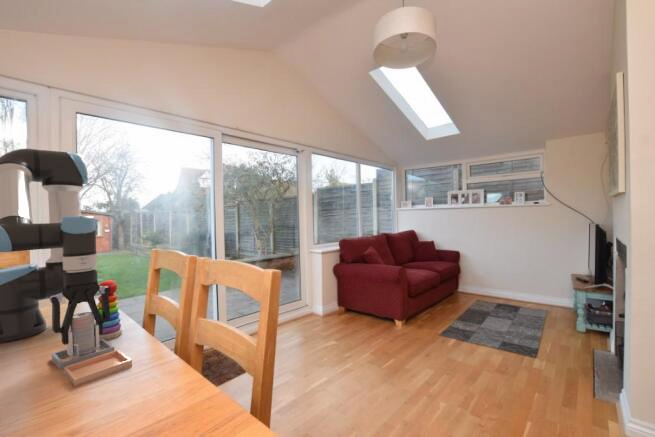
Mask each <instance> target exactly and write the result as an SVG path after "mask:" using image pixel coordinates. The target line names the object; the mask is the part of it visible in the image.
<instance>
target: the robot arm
mask: <svg viewBox="0 0 655 437" xmlns="http://www.w3.org/2000/svg"><path fill="white" fill-rule="evenodd" d="M32 182H33V183H36V182H37V183H41V187H42V188H43V189H44V190H45V191H46V192H47V196H48V219H49V220H48V221H49V222H48V223H40V222H39V223H33V214H32V213H33V212H32V202H31V200H32V198H31V188H30V184H31V183H32ZM88 182H89V179H88V169H87V165H86V162H85V159H84V158H83V156H82V155H81V154H78V153H75V152H68V151H56V150H45V149H44V150H43V149H34V148H20V149H15V150H12V151H9V152H6V153H5V154H3V155H1V156H0V253H12V252H24V251H25V252H26V251H33V250H34V251H36V250H49V249H50V257H49V258H48V259H47V260H45V265H44V266H42V267H39V265H38V264H37V263H29V264H21V265H15V266H11V267H10V266H9V267H6V268H2V269H0V344H1V343H7V342H13V341H17V340H22V339H25V338H29V337H32V336H35V335H38V334H41V333H42V332H44V331H45V330H46V329H47V320H46V319H45V317H44V315H43V313H42V311H41V309H40V306H39V305H40V303H39V301H42V300H48V299H49V300H50V303H51V330H52V331H53V333H55V334H59V333H60V334H61V343H62V345H64V346H65V345H66V349H67V354H68V356H69V357H72V355H73V338H72V331H71V330H70V325H71V321H72V318H73V315H75V311H76V308H77V306H78V305H79V304H81V303H87V304H88V307H89V309H90V312H93V314H94V323H95V321H96V323H95V349H98V348H100V346H99V335H101V334H102V333H103V323H104V322H105V321H106V320H109V319H110V308H109V292H110V288H109V287H107V286H105V287H101V286H99V285H100V283H99V282H98V269H96V268H97V266H98V259H97V257H98V256H97V239H96V238H97V233H96V232H97V231H96V230H97V226H96V219H95V217H94V215H93V216H92V215H80V206H79V205H80V204H79V192H80V191H81V190H83V189H84V185H86V184H88ZM98 290H99V291H100V293H101V294H100V293H99V294H100V296H101V301H102V314H103V317H101V315H100V312H99V310H98V307H97V303H96V299H95V296H96V294H98V292H99V291H98ZM62 298H65V299H66V300H68V302H67V308H66V311H65V315H64V318H63V320H62V321H63V322H62V323H61V304H60V303H61V302H62V300H63V299H62Z"/></svg>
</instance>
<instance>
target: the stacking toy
mask: <svg viewBox="0 0 655 437" xmlns="http://www.w3.org/2000/svg"><path fill="white" fill-rule="evenodd" d="M99 286H101V287H105V286H107V287H109V288H110V292H109V308H110V319H109V320H106V321H105V322H104V323H103V333H102V334H101V335H99V340H100V339H104V340H105V341H107V340H111V339H114V338H115V339H116V338H117V337H119V336H121V335H122V333H123V330H122V328H121V327H122V324H121V323H120V322H121V318H120V312H119V309H120V308H119V305H118V301H117V298H118V296H117V294H116V291H117V289H118V286H117V283H116V282H115V281H114V280H110V279H107V280H104V281H102V282H100V283H99ZM98 292H99V294H100V296H98V303H96V305H97V308H98V310H99V312H100V315H101V317H103V314H102V301H101V293H100V291H99V290H98ZM94 323H96V321H95V320H94Z"/></svg>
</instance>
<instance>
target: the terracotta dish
mask: <svg viewBox="0 0 655 437" xmlns="http://www.w3.org/2000/svg"><path fill="white" fill-rule="evenodd" d="M131 367H133V360H132V358H131V357H129V356H128V355H126V354H125V353H124V352H122V351H121V350H120V349H116V350H115V349H114V351H112V352H109V353H106V354H103V355H100V356H97V357H94V358H91V359H88V360H85V361H81V362H78V363H75V364H72V365H69V366H66V367H64V370H63V375H64V376H65V378H66V379H67V380H68V381H69V383H70V384H71V385H72V386H73V387H74V388H77V387H80V386H83V385H86V384H88V383H91V382H93V381H96V380H99V379H101V378H104V377H108V376H110V375H114V374H115V373H118V372H120V371H123V370H125V369H128V368H131Z"/></svg>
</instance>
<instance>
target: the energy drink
mask: <svg viewBox="0 0 655 437" xmlns="http://www.w3.org/2000/svg"><path fill="white" fill-rule="evenodd" d="M69 330H70V331H72V338H73V355H72V356H71V360H72V359H75V358H78V357H81V356H85V355H88V354H91V353H94V352H97V351H96V347H95V319H94V314H93V312H91V311H88V312H87V311H86V312H79V313H77V314H76V313H74V315H73V318H72V321H71V325H70V328H69Z"/></svg>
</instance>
